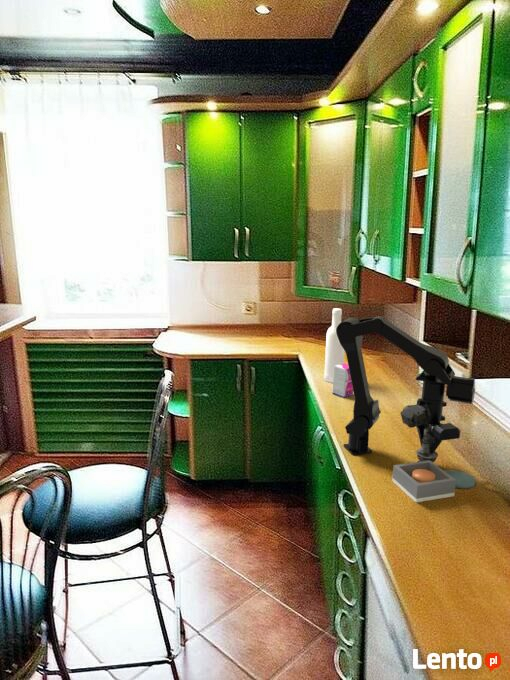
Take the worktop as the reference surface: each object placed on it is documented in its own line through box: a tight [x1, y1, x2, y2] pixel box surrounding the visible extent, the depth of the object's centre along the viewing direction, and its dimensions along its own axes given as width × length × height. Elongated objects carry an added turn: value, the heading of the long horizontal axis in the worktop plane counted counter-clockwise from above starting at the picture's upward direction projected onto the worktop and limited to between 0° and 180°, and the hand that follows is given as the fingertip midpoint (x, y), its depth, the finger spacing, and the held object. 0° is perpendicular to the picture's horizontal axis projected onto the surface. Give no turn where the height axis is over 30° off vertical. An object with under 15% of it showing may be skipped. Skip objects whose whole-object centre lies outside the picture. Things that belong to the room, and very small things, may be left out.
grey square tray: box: [391, 460, 456, 503], centre depth 138 cm, size 11×11×4 cm
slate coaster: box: [444, 469, 476, 490], centre depth 142 cm, size 8×8×1 cm
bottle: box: [323, 307, 346, 384], centre depth 220 cm, size 8×8×30 cm
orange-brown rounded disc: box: [412, 469, 435, 483], centre depth 137 cm, size 6×6×1 cm
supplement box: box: [331, 362, 354, 399], centre depth 205 cm, size 6×6×12 cm
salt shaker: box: [415, 425, 439, 463], centre depth 149 cm, size 6×6×12 cm
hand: (427, 450), depth 150 cm, fingers closed on salt shaker, 3 cm apart
